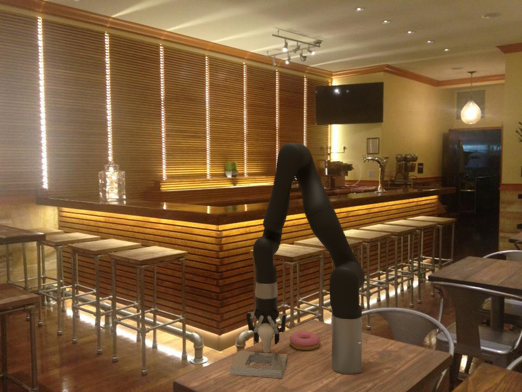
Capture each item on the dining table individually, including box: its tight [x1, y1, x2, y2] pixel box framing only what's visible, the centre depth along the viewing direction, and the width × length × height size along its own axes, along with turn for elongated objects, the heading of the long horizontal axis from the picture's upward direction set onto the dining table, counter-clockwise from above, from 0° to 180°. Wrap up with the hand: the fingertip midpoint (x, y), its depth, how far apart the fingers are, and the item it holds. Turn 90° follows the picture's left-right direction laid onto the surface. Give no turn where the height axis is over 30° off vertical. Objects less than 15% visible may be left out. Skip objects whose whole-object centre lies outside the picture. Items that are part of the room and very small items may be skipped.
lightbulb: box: [257, 323, 275, 353], centre depth 162 cm, size 6×6×11 cm
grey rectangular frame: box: [229, 350, 288, 380], centre depth 151 cm, size 16×12×2 cm
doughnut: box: [289, 330, 321, 351], centre depth 169 cm, size 11×11×4 cm
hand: (266, 342), depth 163 cm, fingers closed on lightbulb, 6 cm apart
